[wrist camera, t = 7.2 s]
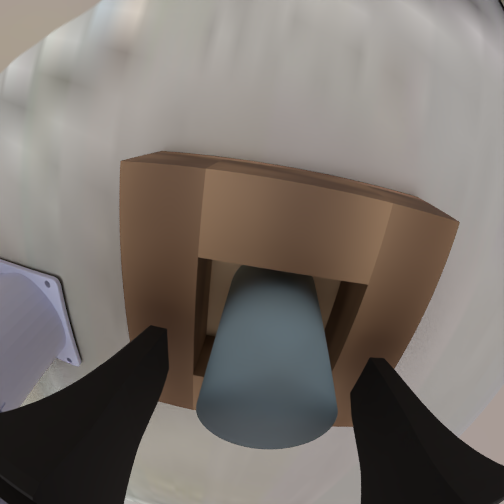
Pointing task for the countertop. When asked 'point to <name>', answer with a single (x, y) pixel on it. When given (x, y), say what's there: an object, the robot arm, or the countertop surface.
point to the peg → (269, 364)
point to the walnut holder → (274, 257)
